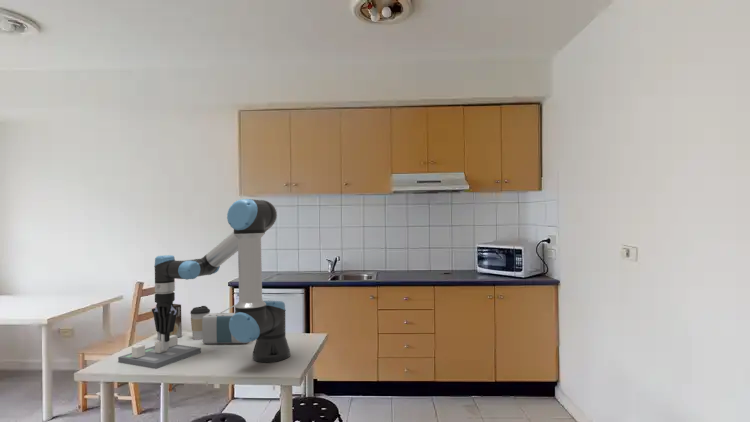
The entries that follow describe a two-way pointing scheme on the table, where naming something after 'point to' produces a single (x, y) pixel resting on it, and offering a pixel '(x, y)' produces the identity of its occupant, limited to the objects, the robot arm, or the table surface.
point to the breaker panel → (160, 356)
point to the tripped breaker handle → (158, 347)
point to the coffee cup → (198, 321)
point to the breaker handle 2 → (173, 340)
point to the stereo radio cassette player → (217, 328)
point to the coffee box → (177, 326)
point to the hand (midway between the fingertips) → (164, 349)
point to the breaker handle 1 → (138, 351)
